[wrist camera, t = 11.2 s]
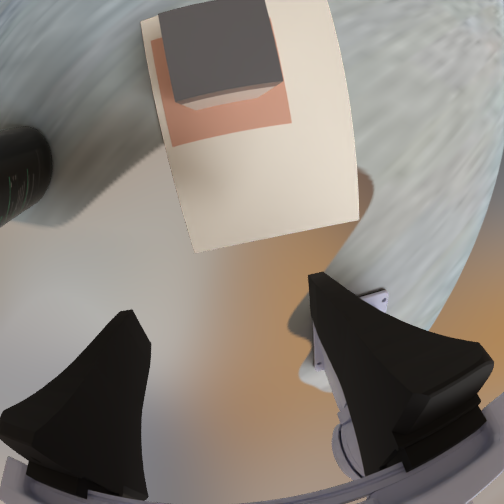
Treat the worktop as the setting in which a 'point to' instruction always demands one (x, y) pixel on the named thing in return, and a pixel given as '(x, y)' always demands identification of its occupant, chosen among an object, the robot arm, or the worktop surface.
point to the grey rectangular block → (220, 52)
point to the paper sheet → (265, 139)
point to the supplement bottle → (22, 170)
